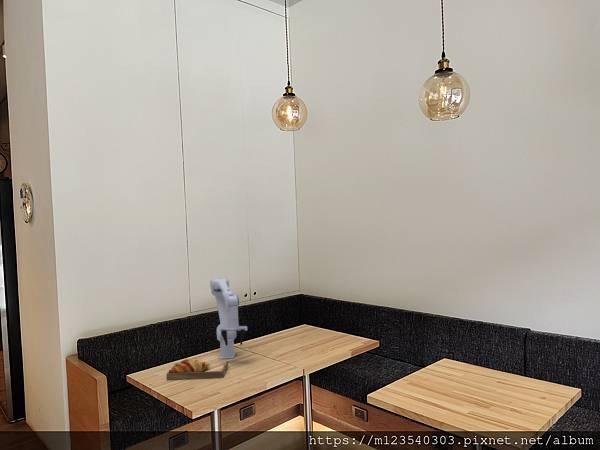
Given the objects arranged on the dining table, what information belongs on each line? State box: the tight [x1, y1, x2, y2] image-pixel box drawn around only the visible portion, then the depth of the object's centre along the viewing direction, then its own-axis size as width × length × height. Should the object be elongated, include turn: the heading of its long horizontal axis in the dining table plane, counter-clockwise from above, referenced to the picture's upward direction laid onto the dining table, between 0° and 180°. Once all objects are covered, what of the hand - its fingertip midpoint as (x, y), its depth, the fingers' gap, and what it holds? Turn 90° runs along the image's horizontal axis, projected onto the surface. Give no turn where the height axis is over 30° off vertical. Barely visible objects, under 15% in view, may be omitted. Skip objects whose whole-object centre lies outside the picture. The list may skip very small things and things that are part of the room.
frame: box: [166, 360, 229, 381], centre depth 219 cm, size 16×27×3 cm, turn 90°
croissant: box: [168, 358, 211, 373], centre depth 220 cm, size 21×10×8 cm, turn 129°
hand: (234, 344), depth 232 cm, fingers open, 7 cm apart
